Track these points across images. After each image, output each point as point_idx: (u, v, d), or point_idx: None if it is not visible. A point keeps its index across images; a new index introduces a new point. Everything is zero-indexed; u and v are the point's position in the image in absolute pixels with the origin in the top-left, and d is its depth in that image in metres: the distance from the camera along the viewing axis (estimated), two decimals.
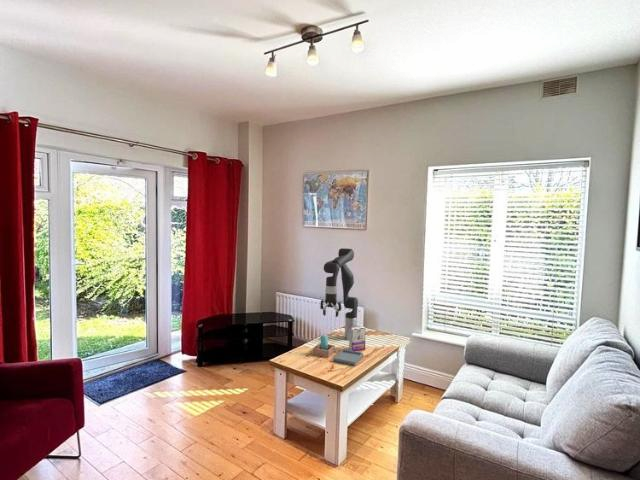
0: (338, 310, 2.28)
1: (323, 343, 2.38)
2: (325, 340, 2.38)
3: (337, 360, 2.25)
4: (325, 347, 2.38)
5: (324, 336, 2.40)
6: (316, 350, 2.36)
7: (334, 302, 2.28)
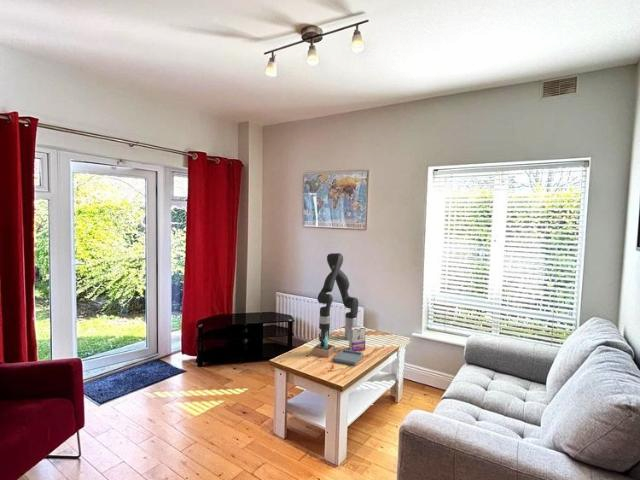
0: None
1: None
2: (325, 340, 2.38)
3: (337, 360, 2.25)
4: (325, 347, 2.38)
5: None
6: (316, 350, 2.36)
7: (327, 329, 2.42)
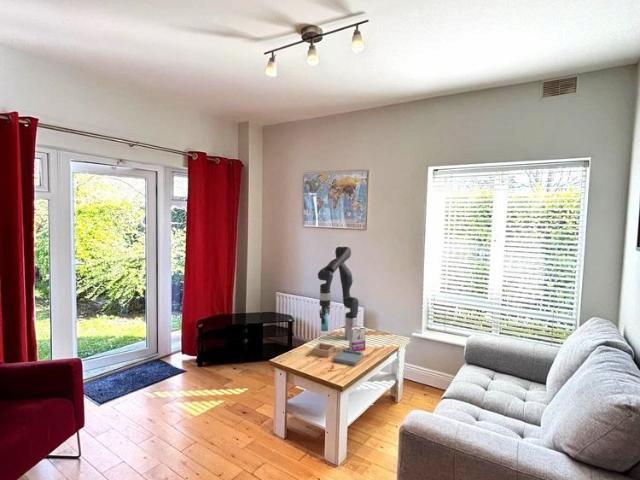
0: None
1: None
2: (326, 317, 2.37)
3: (337, 360, 2.25)
4: (326, 324, 2.38)
5: None
6: (316, 350, 2.36)
7: (327, 307, 2.41)
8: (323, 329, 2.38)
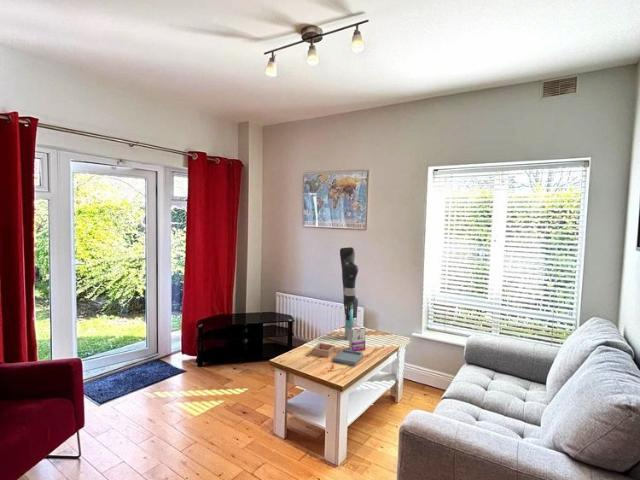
0: None
1: None
2: (350, 313, 2.28)
3: (337, 360, 2.25)
4: (350, 320, 2.28)
5: None
6: (316, 350, 2.36)
7: (352, 302, 2.32)
8: (348, 326, 2.28)
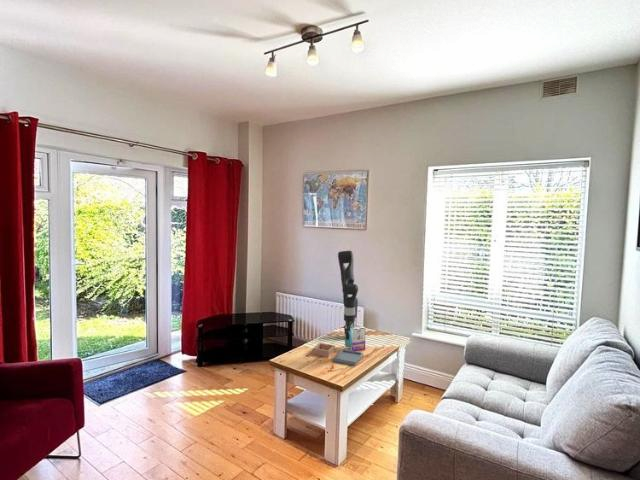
0: None
1: None
2: (350, 332, 2.28)
3: (337, 360, 2.25)
4: (350, 340, 2.29)
5: None
6: (316, 350, 2.36)
7: (352, 321, 2.33)
8: (347, 345, 2.29)
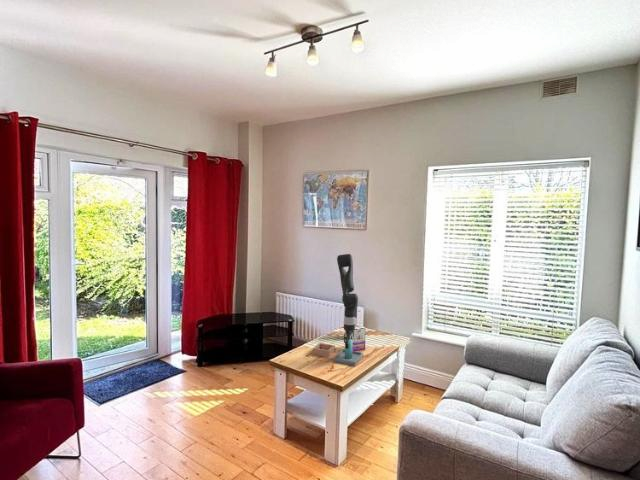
0: (352, 337, 2.36)
1: None
2: (350, 344, 2.29)
3: (337, 360, 2.25)
4: (350, 351, 2.29)
5: (349, 340, 2.31)
6: (316, 350, 2.36)
7: (352, 331, 2.33)
8: (347, 356, 2.29)
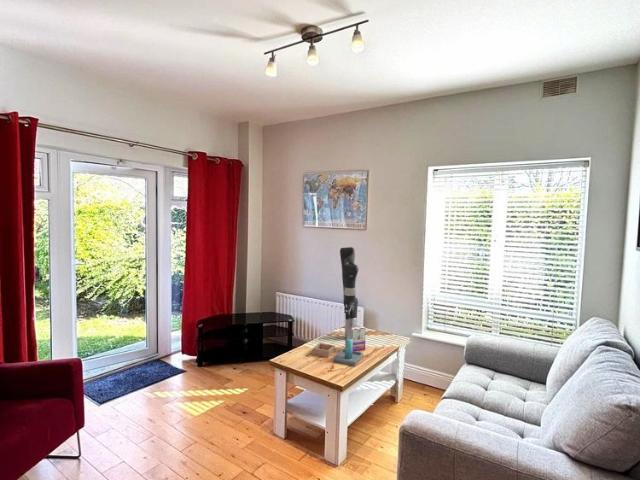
0: None
1: (348, 347, 2.29)
2: (350, 344, 2.29)
3: (337, 360, 2.25)
4: (350, 351, 2.29)
5: (349, 340, 2.31)
6: (316, 350, 2.36)
7: (352, 302, 2.32)
8: (347, 356, 2.29)
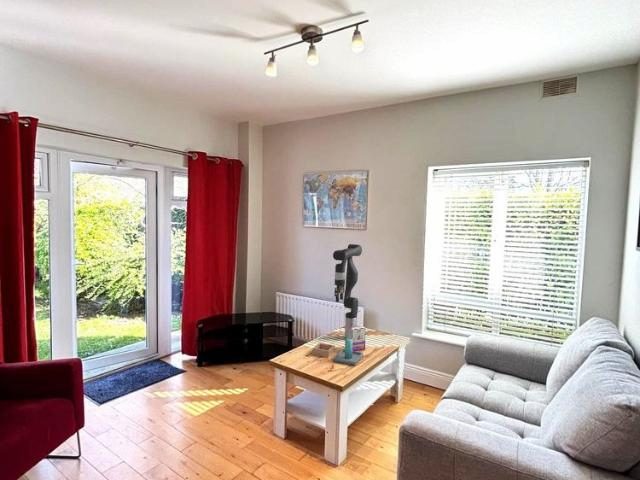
0: None
1: (348, 347, 2.29)
2: (350, 344, 2.29)
3: (337, 360, 2.25)
4: (350, 351, 2.29)
5: (349, 340, 2.31)
6: (316, 350, 2.36)
7: (342, 286, 2.47)
8: (347, 356, 2.29)
